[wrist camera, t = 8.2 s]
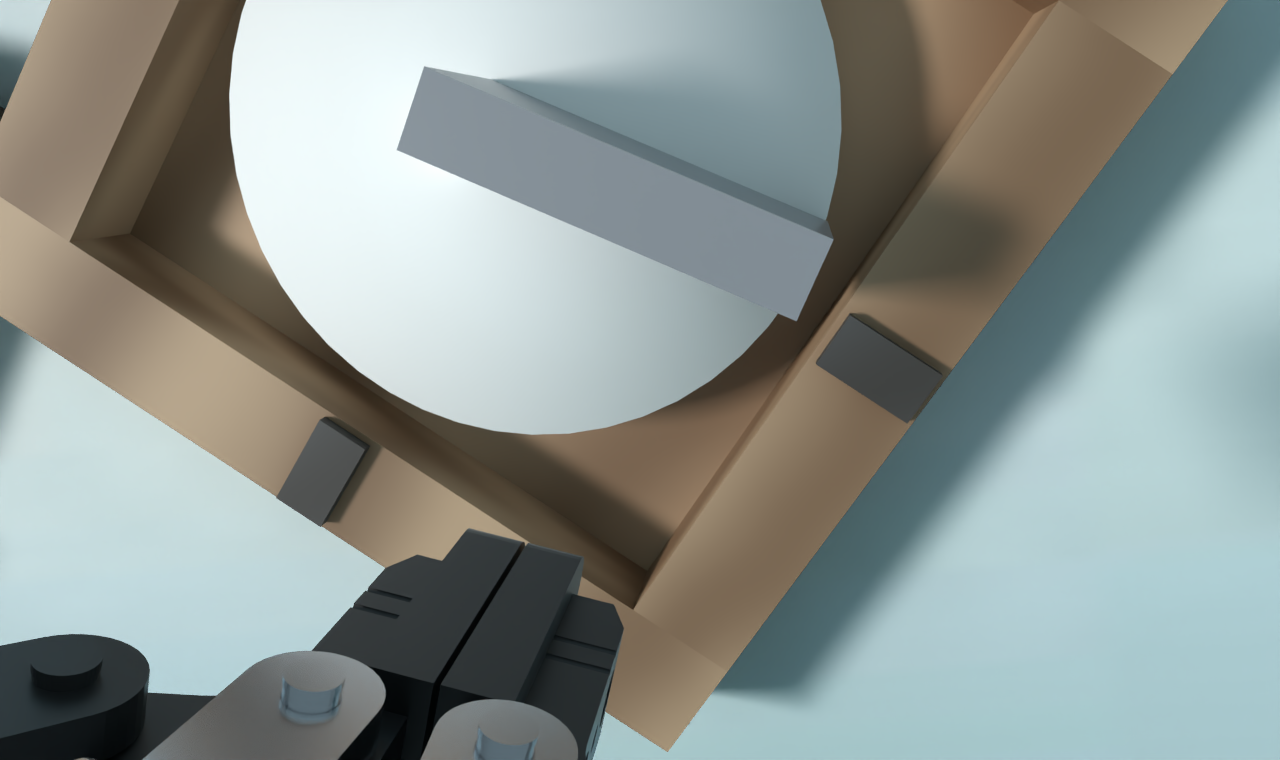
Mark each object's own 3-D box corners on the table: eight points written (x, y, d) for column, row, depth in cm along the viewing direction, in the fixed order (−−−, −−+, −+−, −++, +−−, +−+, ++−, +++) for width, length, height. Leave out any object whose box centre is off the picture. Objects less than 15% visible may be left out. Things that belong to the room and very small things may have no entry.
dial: (199, 285, 25) (39, 324, 20) (364, -285, 22) (225, -421, 17) (696, 504, 25) (667, 604, 19) (945, -49, 21) (993, -111, 16)
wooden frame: (23, 261, 27) (-74, 276, 24) (385, -559, 22) (319, -672, 19) (680, 690, 27) (666, 759, 24) (1206, -27, 22) (1272, -53, 19)
